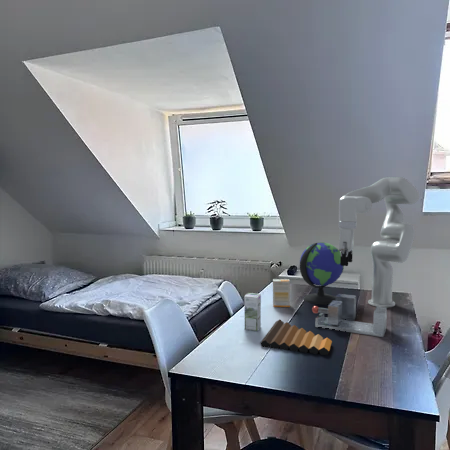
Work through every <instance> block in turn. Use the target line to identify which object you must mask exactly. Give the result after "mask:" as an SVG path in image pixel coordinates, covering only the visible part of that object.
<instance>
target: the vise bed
mask: <svg viewBox="0 0 450 450" xmlns="http://www.w3.org/2000/svg"><path fill="white" fill-rule="evenodd" d="M387 309H388V307H379V306H375V309H374V311H373V317H372V318H373V323H370V322H363V321H355V320H354V321H353V320H345V319H341V321H340V322H339V324H338V325H334V324H328V316H327V317H325V313H318V315H317V316H316V317H315V321H314V324H315V328H318V327H322V328H321V329H325V328H329V329H328V330H332V329H335V330H334V331H339V330H340V332H345V331H346V333H353V334H361V335H365V336H366V335H367V336H373V337H380V338H384V336H385V333H386V330H387V320H388V319H387V315H388V311H387Z"/></svg>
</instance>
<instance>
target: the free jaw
mask: <svg viewBox="0 0 450 450" xmlns="http://www.w3.org/2000/svg"><path fill="white" fill-rule="evenodd" d="M311 311H312V313H313V314H320V313H324V315H326V314H327V318H328V324H334V325H338V324H339V322H340V321H341V319H342V301H334V300H333V301H332V302H331V303H330V304H328V305H327V307H319V306H318V305H313V306H312V308H311ZM342 320H343V319H342Z"/></svg>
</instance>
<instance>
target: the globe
mask: <svg viewBox="0 0 450 450" xmlns="http://www.w3.org/2000/svg"><path fill="white" fill-rule="evenodd" d="M340 260H341V251H339V248H337V247H336V246H335V245H332V243H328V242H314V243H312V244H310V245H308V247H306V248H305V249H304V251H303V252H302V254H301V255H300V258H299V272H300V274H301V277H302V279H303V280H304V281H305V283H306V284H308V285H309V286H311V287H313V288H316V289H318V290H317V293H316V292H315V293H314V292H313V293H309V294H306V295H305V296H304V298H303V301H305V303H309V304H314V305H324V306H325V305H326V306H328V305H329V304H330V303H331V302H332V301H333V300H334V301H336V295H332V294H329V293H325V290H324V288H326V287H328V285H332V284H333V283H335V282H336V281H337V280H338V279H339V278H340V277H341V275H342V274H343V272H344V268H345V266H341V265H340ZM327 304H328V305H327Z"/></svg>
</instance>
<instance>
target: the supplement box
mask: <svg viewBox="0 0 450 450" xmlns="http://www.w3.org/2000/svg"><path fill="white" fill-rule="evenodd" d="M272 305H273V307H274V308H290V307H291V282H290V279H289V278H272Z"/></svg>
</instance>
